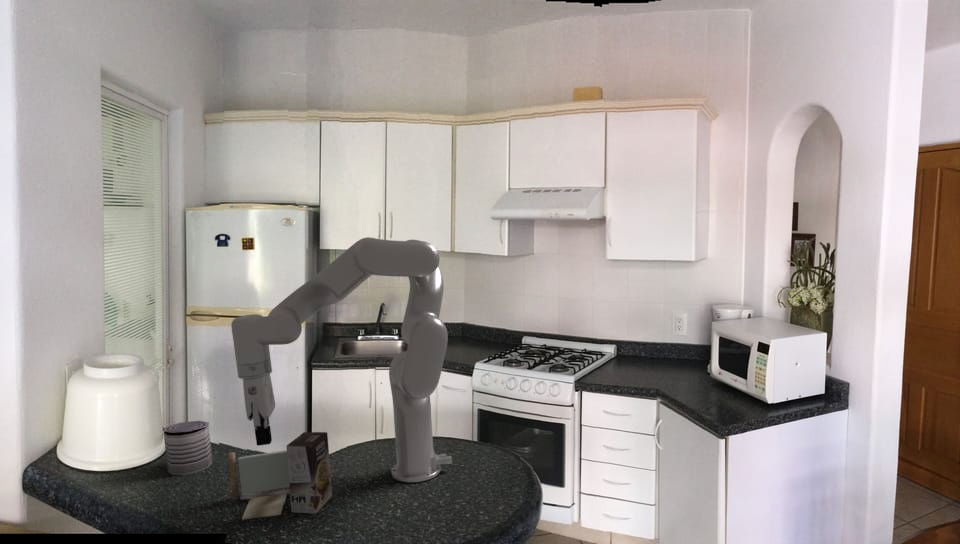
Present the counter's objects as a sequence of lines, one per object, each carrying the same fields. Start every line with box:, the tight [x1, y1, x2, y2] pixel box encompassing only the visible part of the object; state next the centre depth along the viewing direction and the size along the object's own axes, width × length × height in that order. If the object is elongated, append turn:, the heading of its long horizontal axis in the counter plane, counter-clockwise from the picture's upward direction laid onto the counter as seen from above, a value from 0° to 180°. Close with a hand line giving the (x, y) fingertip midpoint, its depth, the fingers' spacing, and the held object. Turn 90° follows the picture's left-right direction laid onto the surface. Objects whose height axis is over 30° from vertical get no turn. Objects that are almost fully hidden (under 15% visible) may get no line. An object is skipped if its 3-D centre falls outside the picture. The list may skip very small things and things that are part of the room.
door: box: [237, 449, 290, 495], centre depth 157 cm, size 12×1×9 cm, turn 105°
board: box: [241, 494, 288, 521], centre depth 150 cm, size 8×10×1 cm
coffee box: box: [285, 431, 333, 515], centre depth 150 cm, size 9×6×16 cm
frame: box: [227, 451, 290, 501], centre depth 156 cm, size 18×3×11 cm, turn 99°
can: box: [161, 420, 213, 476], centre depth 176 cm, size 11×11×12 cm
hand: (264, 443), depth 151 cm, fingers closed
